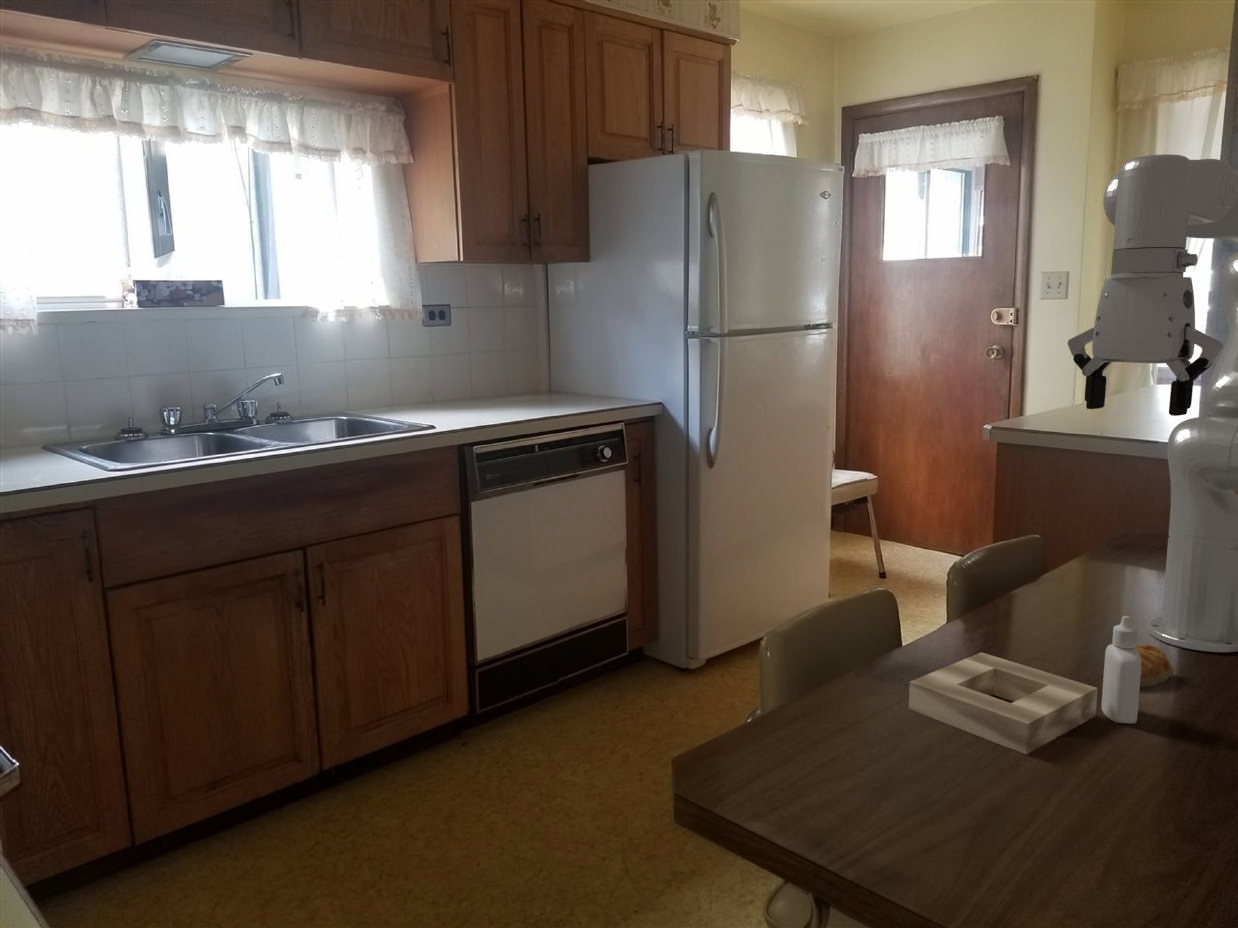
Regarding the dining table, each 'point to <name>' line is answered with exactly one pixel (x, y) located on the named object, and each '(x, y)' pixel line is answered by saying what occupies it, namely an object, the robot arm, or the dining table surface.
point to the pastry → (1153, 665)
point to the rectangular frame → (1021, 725)
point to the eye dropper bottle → (1122, 675)
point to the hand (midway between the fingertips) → (1135, 411)
